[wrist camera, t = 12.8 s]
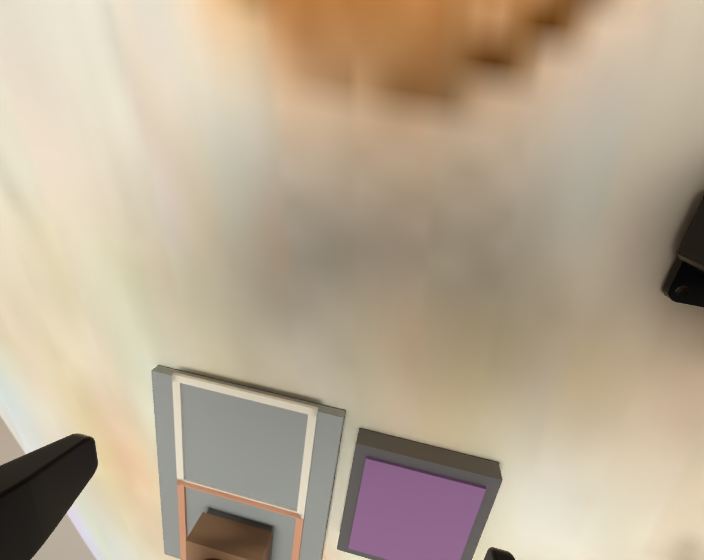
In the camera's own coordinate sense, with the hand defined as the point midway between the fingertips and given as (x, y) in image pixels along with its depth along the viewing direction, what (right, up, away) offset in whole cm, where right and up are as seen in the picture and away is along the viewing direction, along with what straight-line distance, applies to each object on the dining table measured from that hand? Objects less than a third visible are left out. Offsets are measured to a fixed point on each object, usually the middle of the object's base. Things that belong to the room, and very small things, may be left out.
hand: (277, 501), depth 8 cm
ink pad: (+5, -9, +15) cm, 18 cm away
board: (-6, -9, +18) cm, 21 cm away
